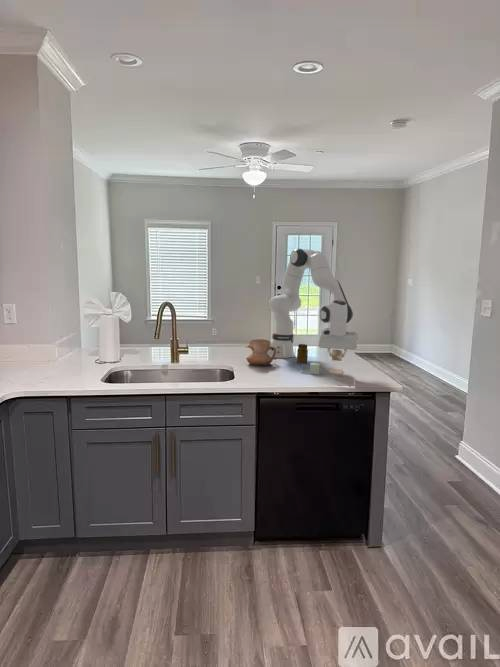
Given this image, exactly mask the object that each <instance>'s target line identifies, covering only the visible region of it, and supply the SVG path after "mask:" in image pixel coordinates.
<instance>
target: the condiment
mask: <svg viewBox="0 0 500 667" xmlns="http://www.w3.org/2000/svg"><path fill="white" fill-rule="evenodd" d="M296 352H297V353H296V354H297V355H296V358H297V359H296V364H298V365H307V364H308V356H309V355H308V353H309V349H308V344H305V343H299V344H298V345H297V351H296Z"/></svg>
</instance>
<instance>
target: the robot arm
mask: <svg viewBox="0 0 500 667" xmlns="http://www.w3.org/2000/svg"><path fill="white" fill-rule="evenodd" d="M307 269H309V270H310V274H311V275H310V276H311V279H312V282H313V283H314V285H315V286H317V287H318V288H320V289H324V290H326V291H328V292H331V294H332V295H333V297H334V299H335V300H333V301H332V302H331V303H330V304H326V305H324V306H323V307H321V309H320V310H319V318H320V321H321V322H323V323H325V324H330V325H329V327H326V328H323V329H321V332H320V333H321V334H320V336H319V339H318V344H317V345H318V348H319V349H327V352H328V353H329V357H331V358H332V352H331V349H335V350H343V351H344V352H342V358H345V355H346V353H347V351H348V350H356V349H357V348H358V343H357V340H358V339H359V334H358V333H357V332H355V331H347V330H348V329H347V328H348V325H347V324H348V323H349V322H350V321H351V320H352V319H353V316H354V312H353V309H352V308H351V305H349V302H348V299H347V297H346V295H345V293H344V290H343V287H342V286H341V283H340V281H339V280H338V279H336V277H334V275H333V273H332V270H331V267H330V263H329V260H328V258H327V256H326V255H325V253H323V252H320V251H318V250H313V249H306V248H305V249H304V248H294V249H293V250H292V251H291V253H290V255H289V262H288V264H287V267H286V268H285V273H284V275H283V278H282V282H281V284H282V287H283V288H284V289H283V291H284V292H283V294H278V295H275V296H273V297H271V298H270V299H269V302H268V307H269V309H270V311H271V312H272V313H273V315H274V318H275V332H273V333H272V334H271V335H272V336H271V338H272V339H270V341H271V343H270V346H274V347H275V348H276V355H275V356H274V358H273V359H275V358H276V359H286V358H294V357H295V351H294V340H295V339H294V337H295V336H294V321H293V319H291V317H290V312H295V311H296V310H299V309H300V308H301V306H302V299H301V298H300V287H301V283H302V281H303V278H304V273H305V270H307ZM267 354H268V355H269V356H271V357H272V356H273V354H274V349H273V348H271V349H269V350H268V352H267Z"/></svg>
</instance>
